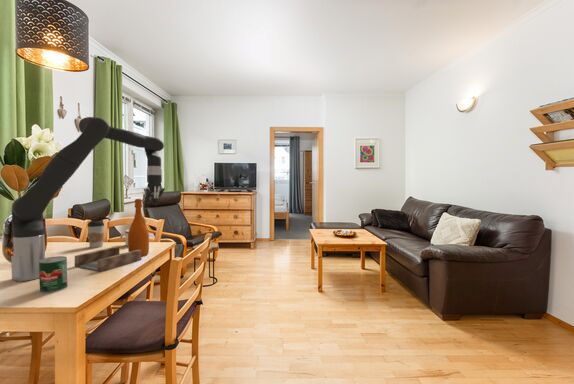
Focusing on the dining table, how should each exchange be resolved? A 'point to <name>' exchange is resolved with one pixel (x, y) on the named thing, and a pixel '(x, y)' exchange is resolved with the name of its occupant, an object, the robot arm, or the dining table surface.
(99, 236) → the coffee cup
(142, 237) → the wine bottle
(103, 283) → the dining table surface
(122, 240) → the teacup with lid
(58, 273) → the canned tomato
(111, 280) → the dining table surface
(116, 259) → the u rest
